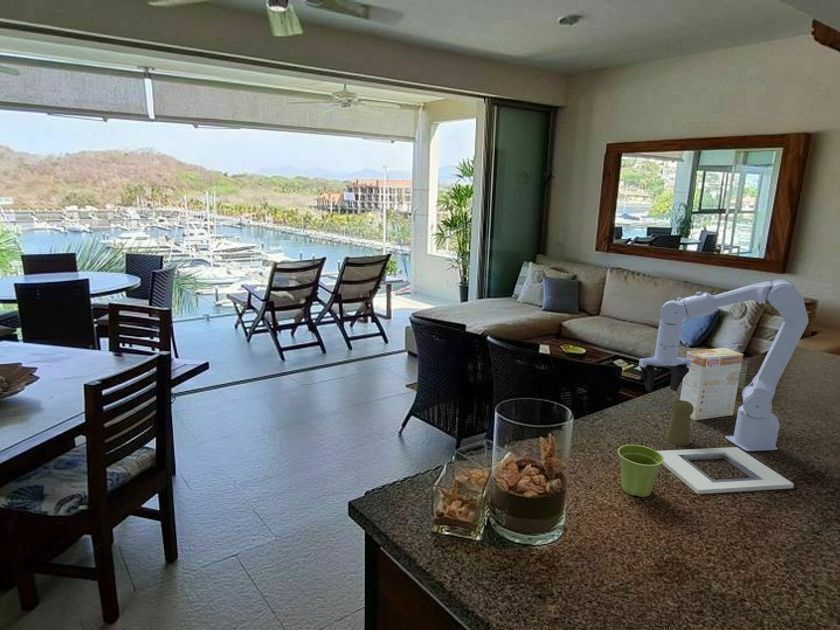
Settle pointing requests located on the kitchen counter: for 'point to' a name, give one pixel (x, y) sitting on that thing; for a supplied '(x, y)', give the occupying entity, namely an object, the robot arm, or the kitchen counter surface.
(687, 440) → the cork
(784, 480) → the white picture frame
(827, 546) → the kitchen counter surface
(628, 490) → the plant pot
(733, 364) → the coffeecake box
